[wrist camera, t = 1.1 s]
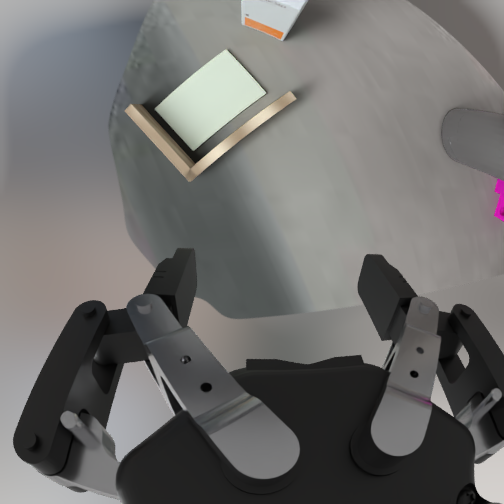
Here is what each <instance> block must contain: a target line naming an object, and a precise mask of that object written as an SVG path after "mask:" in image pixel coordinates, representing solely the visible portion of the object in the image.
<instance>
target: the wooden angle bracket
mask: <svg viewBox="0 0 504 504" xmlns="http://www.w3.org/2000/svg"><path fill="white" fill-rule="evenodd" d="M294 100H296V97H295V96H294V95H293V94H292V93H291V91H289V92H288V93H286V94H285V95H283V96H282V97H280V98H279V99H277V100H276V101H275V102H273V103H272V104H270V105H269V106H268V107H266V108H265V109H264V110H262V111H261V112H259V113H258V114H257V115H255V116H254V117H253V118H251V119H250V120H249V121H248V122H246V123H245V124H244V125H242V126H241V127H240V128H238V129H237V130H236V131H235V132H233V133H232V134H231V135H230V136H228V137H227V138H226V139H225V140H223V141H222V142H221V143H220V144H219V145H217V146H216V147H215V148H214V149H213V150H211V151H210V152H209V153H208V154H207V155H206V156H204V157H203V158H202V159H201V160H200V161H199V162H197V163H196V164H195V163H194V162H193V161H192V159H191V158H190V157H189V156H188V155H187V154H186V153H185V152H184V151H183V150H182V148H181V147H180V146H179V145H178V144H177V143H176V142H175V141H174V140H173V139H172V137H171V136H170V135H169V134H168V133H167V132H166V131H165V130H164V129H163V128H162V127H161V125H160V124H159V123H158V122H157V121H156V120H155V119H154V118H153V117H152V116H151V115H150V114H149V112H148V111H147V110H146V109H145V108H144V107H143V106H142V105H140V104H131V105H130V106H129V107H128V108H127V109H126V110H125V112H126V113H127V114H128V115H129V116H130V117H131V119H132V120H133V121H134V122H135V123H136V124H137V125H138V126H139V127H140V128H141V129H142V131H143V132H144V133H145V134H146V135H147V136H148V137H149V138H150V139H151V140H152V141H153V143H154V144H155V145H156V146H157V147H158V148H159V149H160V150H161V151H162V152H163V154H164V155H165V156H166V157H167V158H168V159H169V160H170V161H171V162H172V163H173V164H174V166H175V167H176V168H177V169H178V170H179V171H180V172H181V173H182V174H183V175H184V177H185V178H186V179H187V180H188V181H189V182H191V181H192V180H193V179H194V178H195V177H197V176H198V175H199V174H200V173H201V172H202V171H203V170H205V169H206V168H207V167H208V166H209V165H211V164H212V163H213V162H214V161H215V160H216V159H218V158H219V157H220V156H221V155H223V154H224V153H225V152H226V151H227V150H229V149H230V148H231V147H232V146H234V145H235V144H236V143H237V142H239V141H240V140H241V139H242V138H244V137H245V136H246V135H248V134H249V133H250V132H252V131H253V130H254V129H255V128H257V127H258V126H259V125H261V124H262V123H263V122H265V121H266V120H268V119H269V118H270V117H272V116H273V115H274V114H276V113H277V112H279V111H280V110H281V109H283V108H284V107H286V106H287V105H288V104H290V103H291V102H293V101H294Z"/></svg>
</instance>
